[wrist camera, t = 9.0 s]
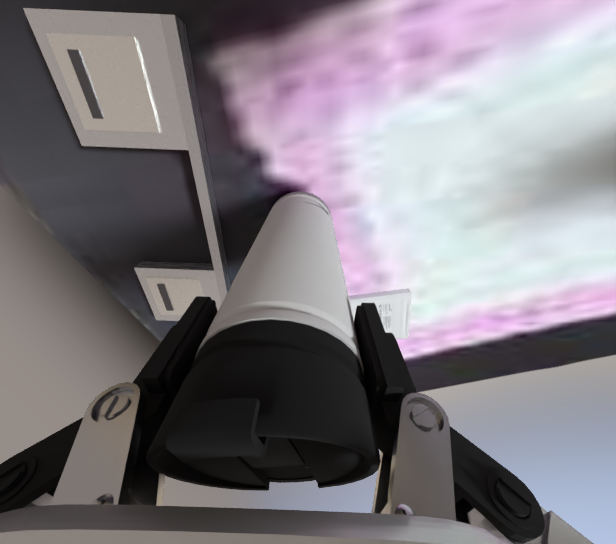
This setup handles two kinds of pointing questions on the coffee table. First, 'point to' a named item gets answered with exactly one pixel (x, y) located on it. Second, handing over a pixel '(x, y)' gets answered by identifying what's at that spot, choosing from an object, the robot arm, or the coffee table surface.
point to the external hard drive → (388, 309)
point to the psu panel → (138, 119)
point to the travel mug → (276, 370)
